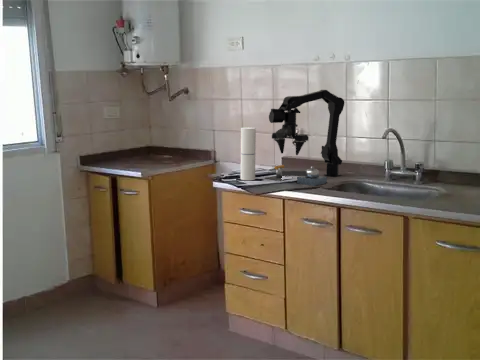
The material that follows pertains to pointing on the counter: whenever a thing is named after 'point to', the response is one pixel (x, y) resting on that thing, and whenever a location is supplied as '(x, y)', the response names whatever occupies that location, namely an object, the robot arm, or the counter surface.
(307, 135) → the robot arm
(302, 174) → the chuck collar
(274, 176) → the rubber pad
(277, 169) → the chuck key
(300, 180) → the chuck base
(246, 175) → the cylindrical container
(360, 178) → the counter surface
